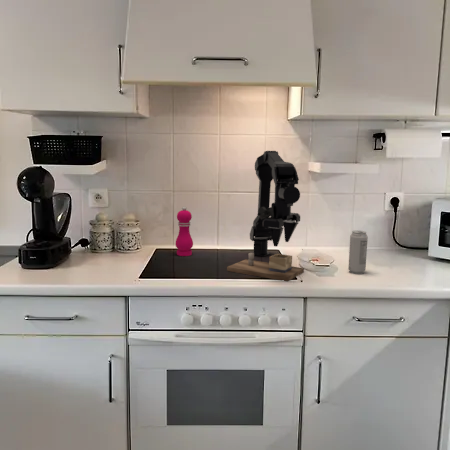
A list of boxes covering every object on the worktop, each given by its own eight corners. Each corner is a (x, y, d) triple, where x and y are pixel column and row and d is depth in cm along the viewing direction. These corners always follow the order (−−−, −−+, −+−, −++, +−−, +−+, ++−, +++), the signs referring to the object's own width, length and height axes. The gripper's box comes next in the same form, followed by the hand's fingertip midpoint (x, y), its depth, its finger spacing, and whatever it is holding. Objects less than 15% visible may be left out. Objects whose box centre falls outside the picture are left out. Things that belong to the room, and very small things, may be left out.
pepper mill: (182, 257, 197) (181, 208, 194) (172, 254, 203) (171, 206, 199) (196, 254, 202) (196, 206, 198) (186, 251, 207) (186, 204, 204)
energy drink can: (354, 269, 182) (356, 229, 180) (368, 272, 178) (371, 232, 176) (344, 272, 178) (347, 231, 176) (359, 275, 174) (362, 234, 172)
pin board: (245, 262, 190) (246, 247, 189) (303, 272, 177) (304, 256, 176) (227, 270, 178) (227, 254, 177) (287, 281, 166) (288, 264, 164)
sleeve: (276, 266, 178) (276, 253, 178) (291, 269, 175) (292, 255, 174) (269, 270, 173) (269, 256, 172) (284, 273, 170) (285, 259, 169)
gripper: (273, 196, 182) (272, 237, 185) (249, 200, 166) (248, 245, 169) (301, 198, 176) (300, 240, 179) (279, 203, 161) (277, 249, 163)
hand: (281, 244), depth 173 cm, fingers open, 9 cm apart
